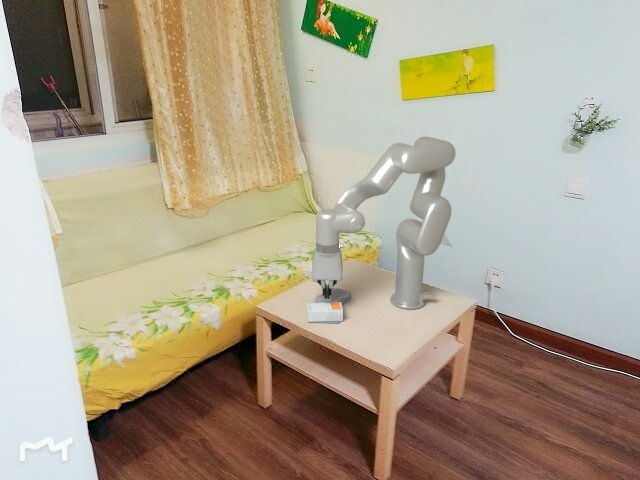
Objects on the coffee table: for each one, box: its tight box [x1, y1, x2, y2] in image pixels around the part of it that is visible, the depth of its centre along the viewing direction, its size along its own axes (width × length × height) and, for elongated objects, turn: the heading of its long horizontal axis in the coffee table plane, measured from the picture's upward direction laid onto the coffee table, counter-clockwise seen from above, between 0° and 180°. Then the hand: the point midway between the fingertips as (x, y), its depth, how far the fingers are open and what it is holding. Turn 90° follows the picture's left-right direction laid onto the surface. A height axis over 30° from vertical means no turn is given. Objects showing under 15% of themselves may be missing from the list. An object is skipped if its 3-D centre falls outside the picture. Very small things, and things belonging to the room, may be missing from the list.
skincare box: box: [306, 302, 344, 323], centre depth 160 cm, size 6×4×12 cm
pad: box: [315, 321, 340, 325], centre depth 161 cm, size 8×9×1 cm
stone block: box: [314, 287, 352, 306], centre depth 172 cm, size 12×5×10 cm
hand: (326, 297), depth 159 cm, fingers closed
